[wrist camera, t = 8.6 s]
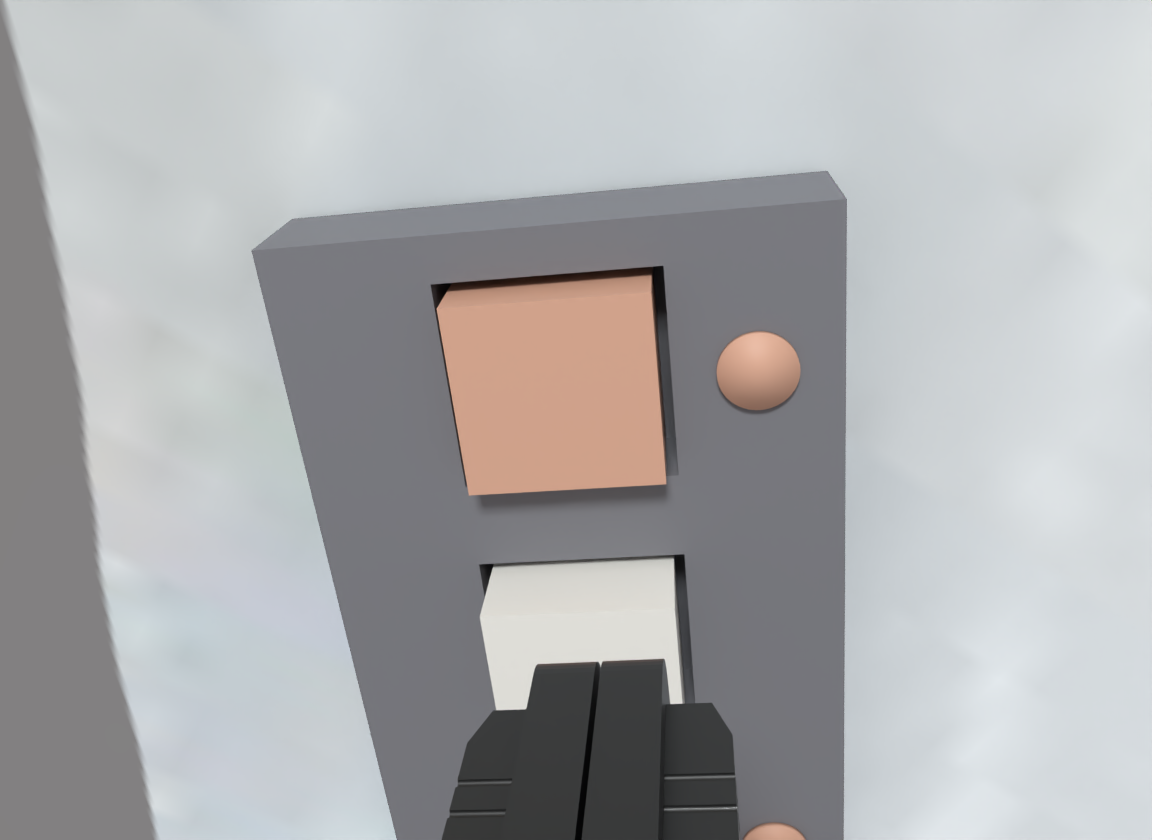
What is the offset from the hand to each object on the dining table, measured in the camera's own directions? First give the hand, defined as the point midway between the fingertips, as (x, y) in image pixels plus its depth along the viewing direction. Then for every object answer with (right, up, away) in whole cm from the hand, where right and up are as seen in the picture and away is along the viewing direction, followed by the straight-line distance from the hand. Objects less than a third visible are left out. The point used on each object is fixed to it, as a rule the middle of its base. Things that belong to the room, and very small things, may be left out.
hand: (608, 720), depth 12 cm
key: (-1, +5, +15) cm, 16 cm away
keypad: (0, -1, +20) cm, 20 cm away
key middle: (0, -2, +18) cm, 18 cm away
